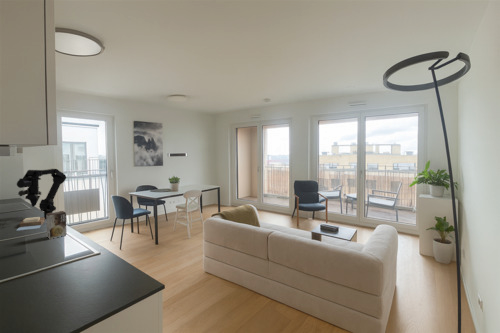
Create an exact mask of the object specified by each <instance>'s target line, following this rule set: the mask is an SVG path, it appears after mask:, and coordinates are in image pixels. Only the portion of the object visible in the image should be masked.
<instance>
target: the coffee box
mask: <svg viewBox="0 0 500 333" xmlns="http://www.w3.org/2000/svg"><path fill="white" fill-rule="evenodd" d="M45 222H46V238H47V237H48V238H49V239H48V238H47V239H48V240H53V239H52V238H55V239H57V238H56V237H59V238H61V237H60V236H63V237H66V236H65V235H68V234H67V212H66V211H64V210H60V211H53V212H52V213H46V219H45Z"/></svg>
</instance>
